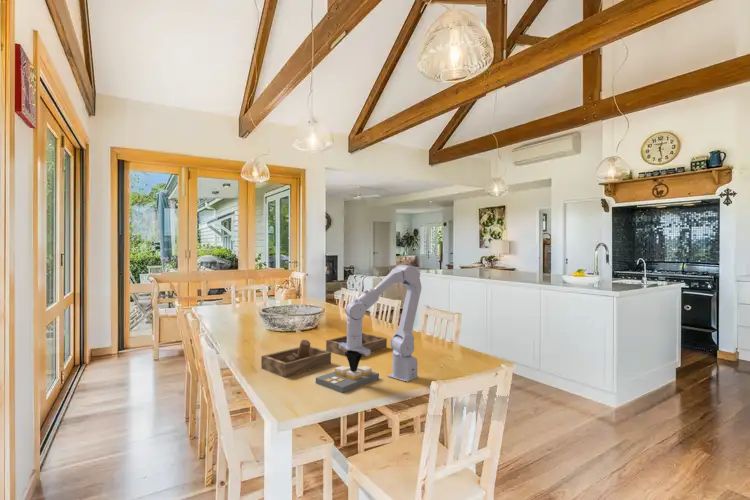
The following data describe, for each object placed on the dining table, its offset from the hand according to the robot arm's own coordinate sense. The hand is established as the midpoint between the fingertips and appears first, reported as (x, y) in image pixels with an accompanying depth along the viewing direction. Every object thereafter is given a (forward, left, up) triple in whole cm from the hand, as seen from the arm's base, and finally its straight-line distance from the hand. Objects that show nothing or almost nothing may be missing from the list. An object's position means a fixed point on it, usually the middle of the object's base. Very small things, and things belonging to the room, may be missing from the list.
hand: (353, 370), depth 149 cm
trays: (+30, -16, -5) cm, 34 cm away
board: (+3, 0, -5) cm, 5 cm away
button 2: (0, 0, -3) cm, 3 cm away
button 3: (+6, -6, -4) cm, 9 cm away
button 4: (+6, 0, -3) cm, 7 cm away
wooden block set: (+29, +2, -5) cm, 29 cm away
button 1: (0, -6, -3) cm, 7 cm away
